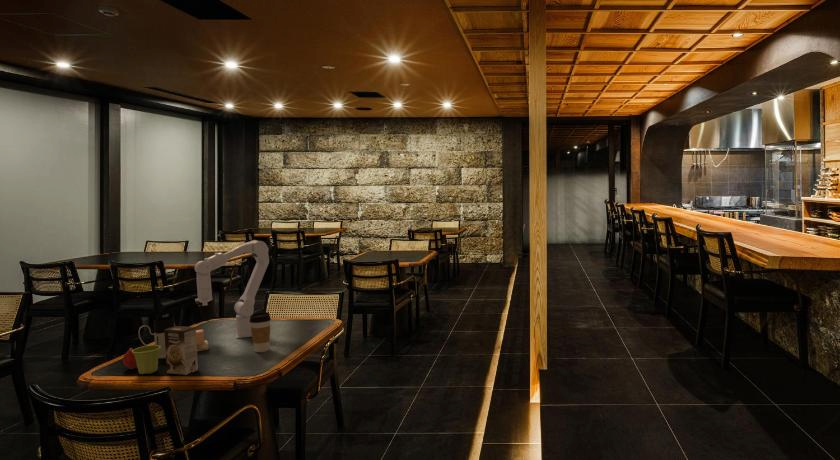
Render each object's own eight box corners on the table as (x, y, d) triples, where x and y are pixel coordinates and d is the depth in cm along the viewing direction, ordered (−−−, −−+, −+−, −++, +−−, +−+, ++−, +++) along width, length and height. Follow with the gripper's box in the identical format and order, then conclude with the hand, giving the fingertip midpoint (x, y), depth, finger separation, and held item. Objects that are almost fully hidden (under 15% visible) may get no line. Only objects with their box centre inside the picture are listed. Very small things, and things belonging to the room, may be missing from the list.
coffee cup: (276, 347, 222) (274, 312, 221) (264, 353, 214) (262, 316, 213) (259, 346, 225) (257, 311, 224) (246, 352, 217) (244, 316, 216)
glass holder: (181, 354, 218) (179, 318, 217) (144, 363, 208) (141, 325, 207) (173, 350, 224) (170, 315, 223) (136, 358, 214) (134, 321, 213)
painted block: (204, 341, 228) (203, 329, 227) (203, 343, 224) (203, 331, 223) (193, 342, 226) (193, 330, 226) (193, 344, 222) (192, 332, 222)
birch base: (206, 347, 229) (206, 340, 229) (208, 350, 224) (208, 343, 224) (191, 349, 226) (191, 342, 226) (192, 352, 221) (192, 345, 221)
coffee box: (166, 373, 194) (163, 329, 193) (179, 367, 200) (176, 325, 199) (185, 375, 191) (182, 330, 190) (199, 369, 197) (196, 326, 196)
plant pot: (143, 377, 190) (141, 353, 190) (128, 373, 195) (126, 350, 195) (167, 369, 198) (165, 346, 198) (152, 366, 203) (151, 343, 203)
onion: (128, 366, 204) (126, 346, 203) (143, 365, 204) (142, 345, 204) (120, 371, 198) (119, 350, 198) (137, 370, 198) (135, 349, 198)
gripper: (195, 286, 239) (197, 316, 240) (193, 291, 226) (195, 323, 227) (211, 285, 242) (213, 315, 243) (211, 290, 228) (213, 321, 229)
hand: (206, 319), depth 235 cm, fingers open, 7 cm apart
